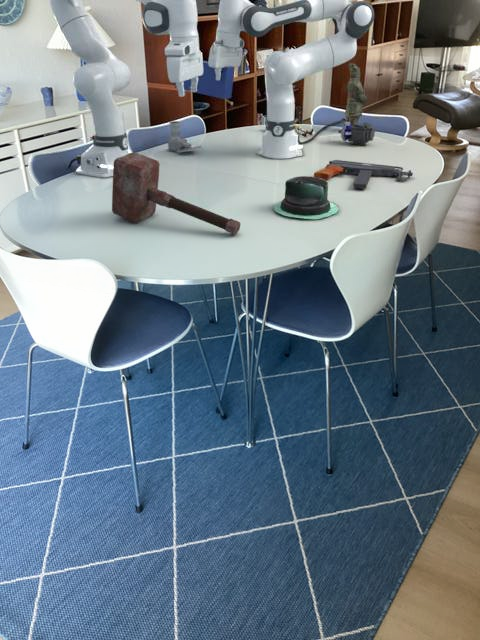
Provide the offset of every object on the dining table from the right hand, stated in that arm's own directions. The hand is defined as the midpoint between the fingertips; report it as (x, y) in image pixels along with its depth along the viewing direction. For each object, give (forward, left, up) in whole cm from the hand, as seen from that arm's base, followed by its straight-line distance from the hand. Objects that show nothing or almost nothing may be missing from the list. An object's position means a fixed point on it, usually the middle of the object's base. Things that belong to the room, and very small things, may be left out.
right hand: (223, 79), depth 218 cm
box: (-2, -9, -5) cm, 11 cm away
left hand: (+44, 0, +1) cm, 44 cm away
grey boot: (-4, -20, -30) cm, 36 cm away
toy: (-29, +52, -30) cm, 67 cm away
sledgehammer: (+81, +6, -30) cm, 87 cm away
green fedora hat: (+61, +41, -30) cm, 79 cm away
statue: (-56, +50, -30) cm, 81 cm away
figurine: (-46, +19, -30) cm, 58 cm away
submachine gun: (+26, +57, -30) cm, 69 cm away
